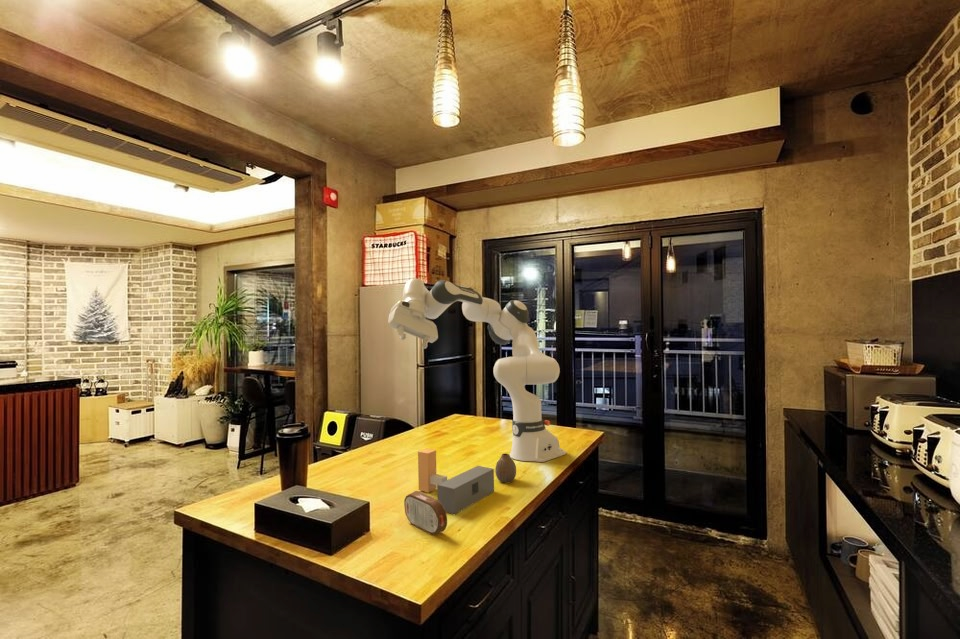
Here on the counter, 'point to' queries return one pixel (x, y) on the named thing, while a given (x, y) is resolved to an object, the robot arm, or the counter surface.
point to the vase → (505, 469)
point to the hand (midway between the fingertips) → (413, 343)
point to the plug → (428, 471)
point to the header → (465, 489)
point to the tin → (425, 512)
